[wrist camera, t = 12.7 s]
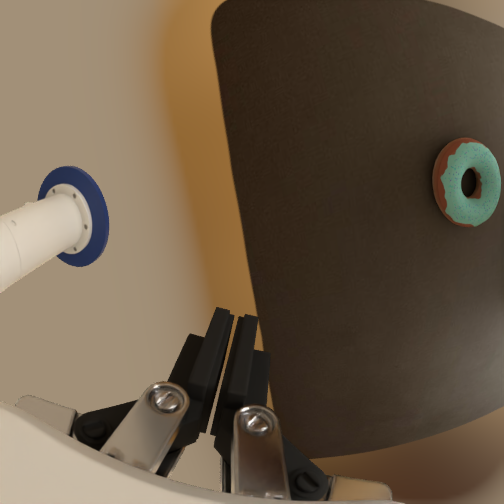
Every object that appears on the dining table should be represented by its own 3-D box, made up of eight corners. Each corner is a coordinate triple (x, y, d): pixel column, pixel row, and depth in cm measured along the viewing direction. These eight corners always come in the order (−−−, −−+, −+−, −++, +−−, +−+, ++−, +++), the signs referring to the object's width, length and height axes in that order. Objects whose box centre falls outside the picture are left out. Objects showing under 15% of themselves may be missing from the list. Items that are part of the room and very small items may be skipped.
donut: (431, 229, 32) (444, 238, 28) (420, 140, 28) (434, 141, 24) (491, 215, 30) (506, 223, 26) (484, 135, 26) (500, 136, 22)
